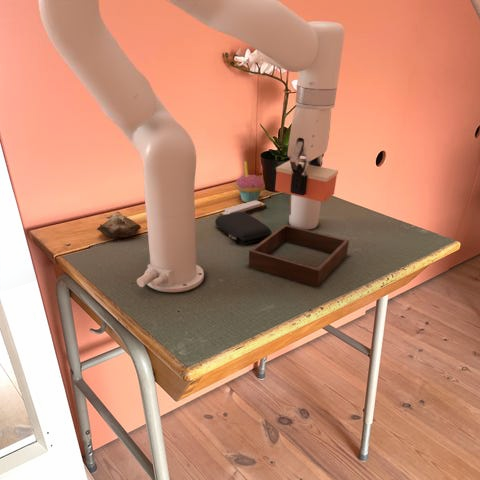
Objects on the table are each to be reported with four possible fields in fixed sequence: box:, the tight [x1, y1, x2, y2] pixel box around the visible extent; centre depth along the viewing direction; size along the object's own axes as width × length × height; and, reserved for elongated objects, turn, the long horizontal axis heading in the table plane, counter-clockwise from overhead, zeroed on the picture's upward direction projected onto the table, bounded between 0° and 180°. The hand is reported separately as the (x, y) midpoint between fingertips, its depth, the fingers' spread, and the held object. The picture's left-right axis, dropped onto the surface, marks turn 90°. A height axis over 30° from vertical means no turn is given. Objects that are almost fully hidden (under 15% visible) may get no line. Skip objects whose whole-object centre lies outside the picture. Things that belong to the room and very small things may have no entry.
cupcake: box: [235, 158, 266, 203], centre depth 143 cm, size 9×8×12 cm
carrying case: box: [214, 211, 273, 245], centre depth 125 cm, size 11×3×15 cm
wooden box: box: [248, 224, 350, 288], centre depth 113 cm, size 18×17×4 cm
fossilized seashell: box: [96, 211, 142, 239], centre depth 122 cm, size 8×7×10 cm
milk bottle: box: [288, 156, 322, 230], centre depth 126 cm, size 8×8×20 cm
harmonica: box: [219, 200, 267, 216], centre depth 137 cm, size 15×3×2 cm, turn 132°
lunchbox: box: [274, 160, 339, 203], centre depth 103 cm, size 6×11×5 cm, turn 59°
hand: (304, 188), depth 104 cm, fingers closed on lunchbox, 6 cm apart
